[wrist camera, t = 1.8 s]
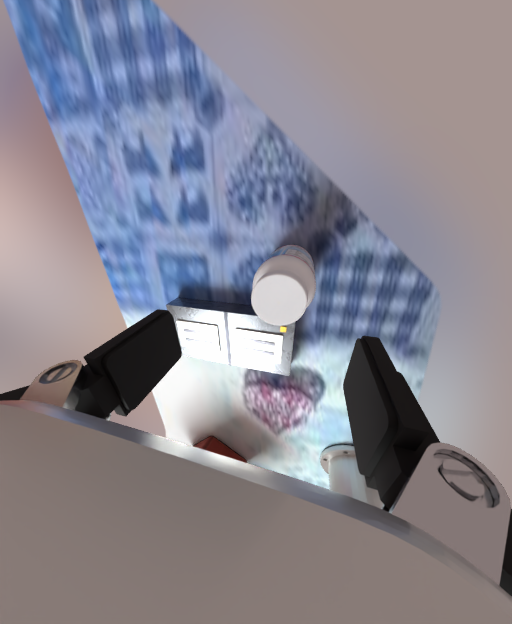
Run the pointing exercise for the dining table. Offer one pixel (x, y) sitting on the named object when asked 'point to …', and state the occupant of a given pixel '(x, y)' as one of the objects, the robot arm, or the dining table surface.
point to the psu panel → (232, 335)
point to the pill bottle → (284, 286)
